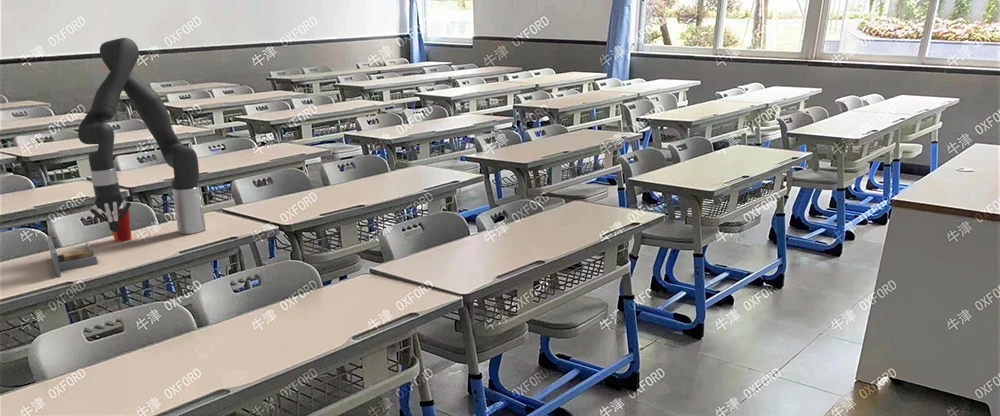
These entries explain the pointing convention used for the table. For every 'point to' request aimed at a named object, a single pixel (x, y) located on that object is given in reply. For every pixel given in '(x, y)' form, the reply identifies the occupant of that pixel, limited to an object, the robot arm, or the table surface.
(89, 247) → the walnut cart
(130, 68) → the robot arm
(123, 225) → the paper cup
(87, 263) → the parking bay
